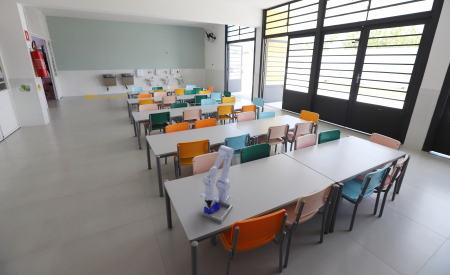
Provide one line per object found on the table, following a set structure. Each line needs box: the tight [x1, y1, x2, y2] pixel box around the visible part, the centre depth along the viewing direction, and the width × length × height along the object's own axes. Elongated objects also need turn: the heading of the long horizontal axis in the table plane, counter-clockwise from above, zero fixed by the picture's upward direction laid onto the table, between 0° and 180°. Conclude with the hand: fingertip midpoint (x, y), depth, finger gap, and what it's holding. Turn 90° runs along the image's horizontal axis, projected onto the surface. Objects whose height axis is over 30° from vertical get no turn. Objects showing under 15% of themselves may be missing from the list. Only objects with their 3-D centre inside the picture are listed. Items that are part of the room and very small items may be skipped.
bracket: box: [202, 200, 233, 223], centre depth 161 cm, size 18×14×2 cm
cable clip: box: [203, 201, 221, 215], centre depth 161 cm, size 12×4×6 cm, turn 130°
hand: (209, 206), depth 164 cm, fingers closed
